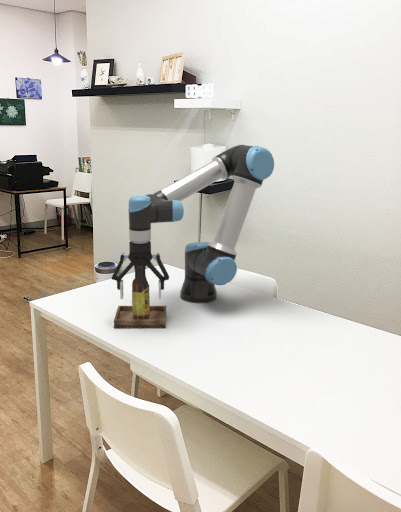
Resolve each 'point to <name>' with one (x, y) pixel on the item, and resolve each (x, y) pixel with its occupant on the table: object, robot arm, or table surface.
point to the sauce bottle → (140, 294)
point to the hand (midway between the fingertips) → (140, 298)
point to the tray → (127, 321)
